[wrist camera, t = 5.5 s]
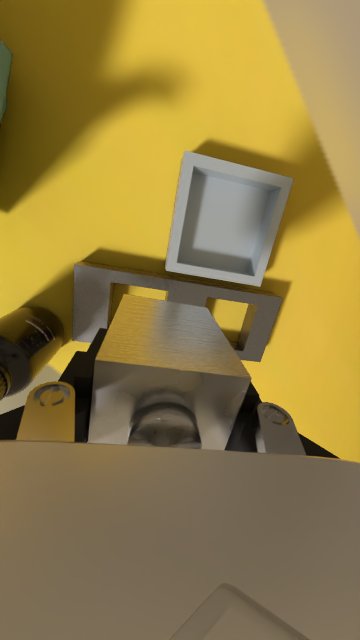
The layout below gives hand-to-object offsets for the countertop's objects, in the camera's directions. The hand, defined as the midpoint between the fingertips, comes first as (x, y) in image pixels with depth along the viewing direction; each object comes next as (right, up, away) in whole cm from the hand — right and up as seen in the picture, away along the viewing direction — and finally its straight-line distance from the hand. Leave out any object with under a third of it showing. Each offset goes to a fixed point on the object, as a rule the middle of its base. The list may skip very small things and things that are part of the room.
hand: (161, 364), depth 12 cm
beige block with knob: (0, +1, +3) cm, 3 cm away
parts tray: (+5, +13, +15) cm, 20 cm away
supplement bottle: (-17, +1, +17) cm, 24 cm away
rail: (+1, +3, +18) cm, 18 cm away
